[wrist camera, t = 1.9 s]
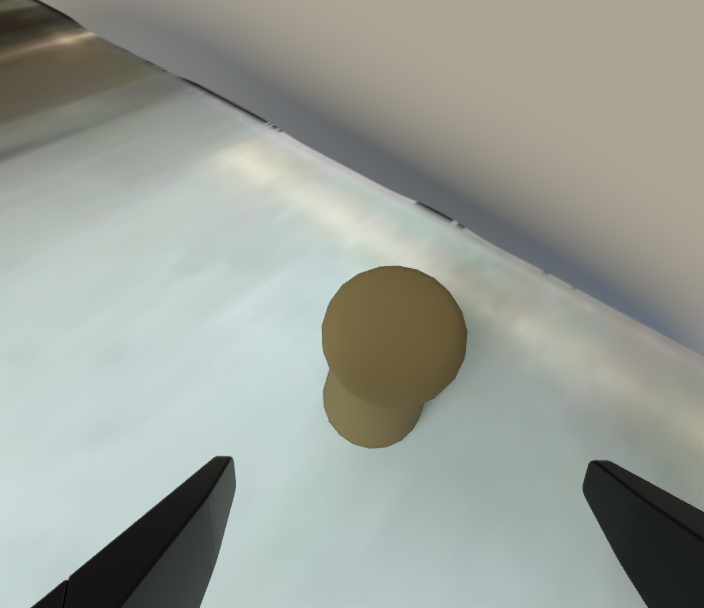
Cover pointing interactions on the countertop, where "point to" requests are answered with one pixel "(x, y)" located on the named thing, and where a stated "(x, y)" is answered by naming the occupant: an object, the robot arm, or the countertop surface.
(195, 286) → the countertop surface
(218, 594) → the countertop surface
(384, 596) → the countertop surface
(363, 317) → the cork
